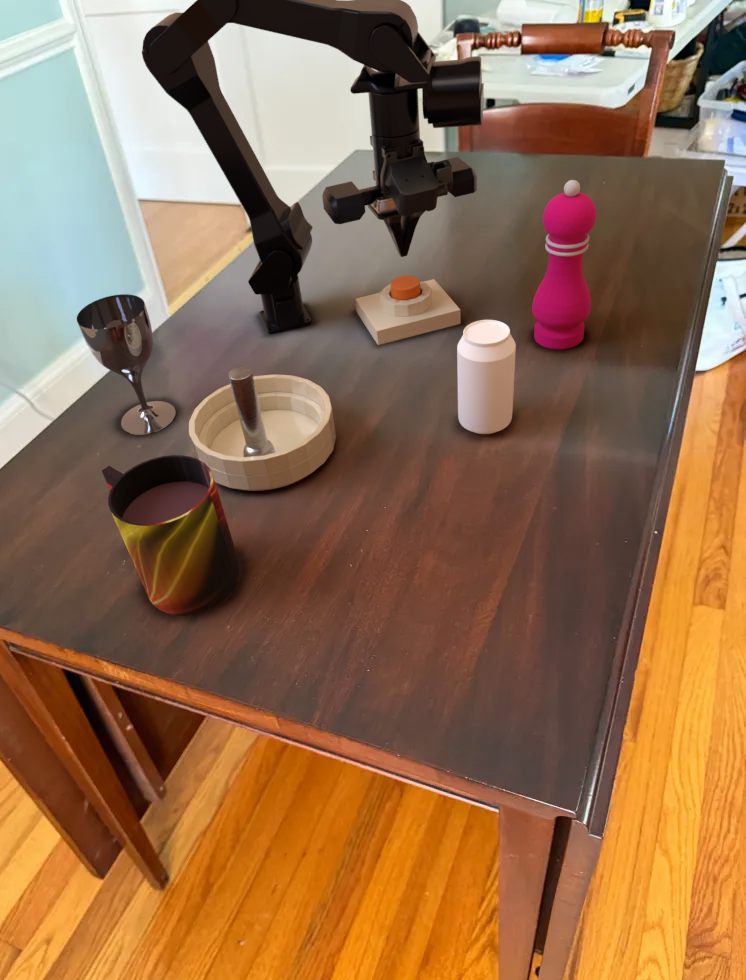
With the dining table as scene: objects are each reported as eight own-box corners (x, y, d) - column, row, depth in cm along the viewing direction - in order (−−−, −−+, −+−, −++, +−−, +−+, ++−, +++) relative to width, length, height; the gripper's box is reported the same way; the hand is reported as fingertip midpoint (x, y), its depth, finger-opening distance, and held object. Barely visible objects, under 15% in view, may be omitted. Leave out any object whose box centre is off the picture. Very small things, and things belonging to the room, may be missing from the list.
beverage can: (507, 441, 88) (511, 348, 80) (453, 436, 90) (451, 345, 82) (515, 409, 92) (520, 317, 84) (463, 405, 94) (462, 315, 86)
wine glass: (189, 402, 102) (157, 296, 91) (160, 440, 96) (122, 331, 86) (137, 396, 104) (99, 292, 93) (106, 433, 99) (62, 326, 88)
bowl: (189, 429, 97) (179, 395, 94) (317, 395, 99) (311, 361, 96) (210, 511, 86) (199, 476, 82) (354, 471, 88) (349, 436, 84)
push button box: (356, 312, 113) (353, 286, 110) (434, 292, 115) (433, 267, 112) (378, 345, 106) (375, 318, 103) (460, 324, 108) (460, 297, 105)
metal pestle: (248, 456, 90) (224, 364, 81) (279, 454, 90) (258, 361, 81) (245, 477, 87) (220, 384, 79) (276, 474, 87) (255, 381, 79)
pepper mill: (587, 352, 99) (607, 192, 85) (529, 351, 101) (538, 194, 87) (586, 322, 104) (605, 166, 90) (531, 322, 106) (540, 169, 92)
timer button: (387, 291, 109) (386, 279, 108) (414, 284, 109) (413, 273, 108) (396, 304, 106) (396, 292, 105) (424, 297, 107) (424, 285, 105)
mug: (134, 535, 84) (97, 448, 76) (253, 549, 81) (229, 458, 72) (93, 603, 78) (47, 515, 70) (220, 621, 74) (188, 531, 66)
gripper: (339, 168, 86) (353, 298, 97) (496, 132, 88) (493, 263, 99) (313, 138, 94) (329, 262, 105) (458, 106, 96) (459, 231, 107)
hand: (403, 255), depth 104 cm, fingers closed
